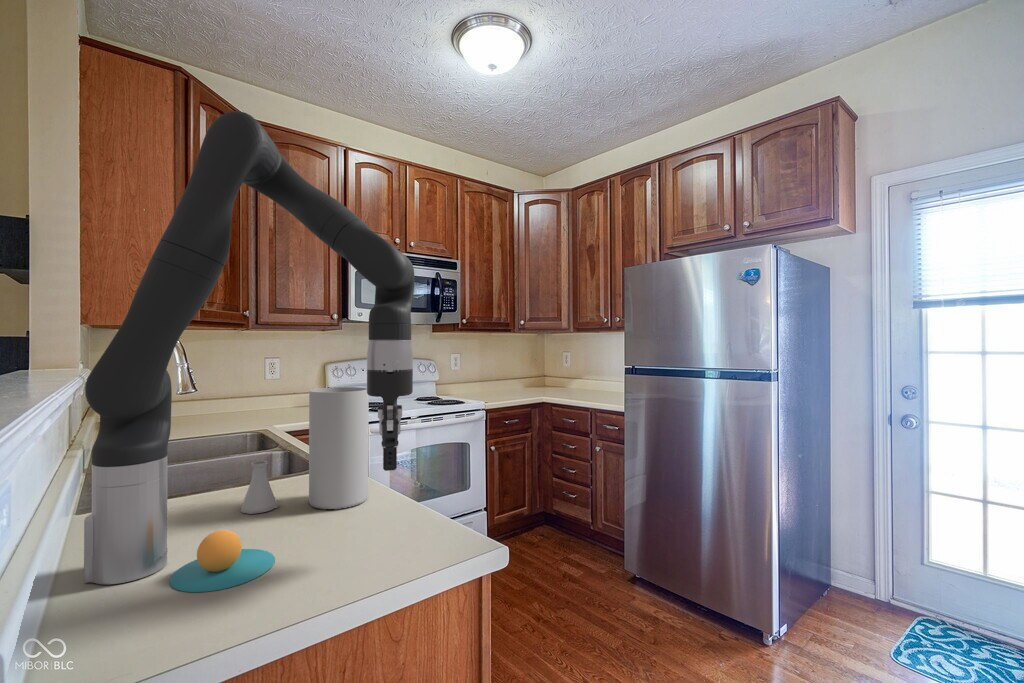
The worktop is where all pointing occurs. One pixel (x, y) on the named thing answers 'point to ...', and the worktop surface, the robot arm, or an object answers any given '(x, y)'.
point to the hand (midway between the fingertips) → (389, 469)
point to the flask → (259, 491)
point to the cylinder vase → (338, 447)
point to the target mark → (222, 573)
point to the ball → (219, 550)
